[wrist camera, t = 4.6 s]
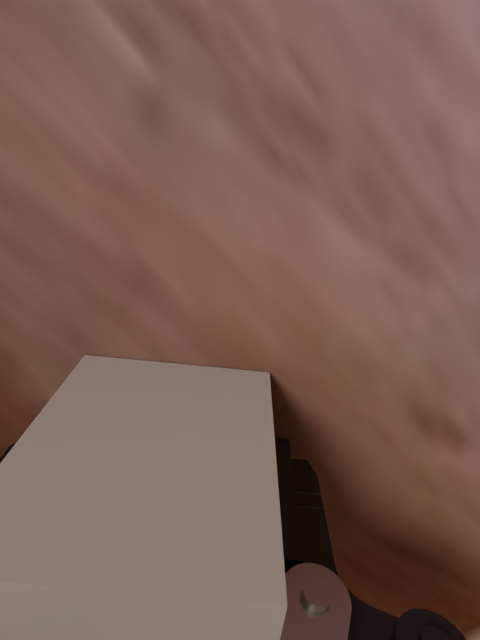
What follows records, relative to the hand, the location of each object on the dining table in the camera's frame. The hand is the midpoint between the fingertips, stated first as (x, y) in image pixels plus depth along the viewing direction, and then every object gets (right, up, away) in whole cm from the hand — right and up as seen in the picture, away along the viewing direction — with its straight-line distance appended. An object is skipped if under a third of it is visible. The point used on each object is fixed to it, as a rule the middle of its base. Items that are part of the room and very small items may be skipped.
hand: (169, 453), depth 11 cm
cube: (0, 0, +1) cm, 1 cm away
